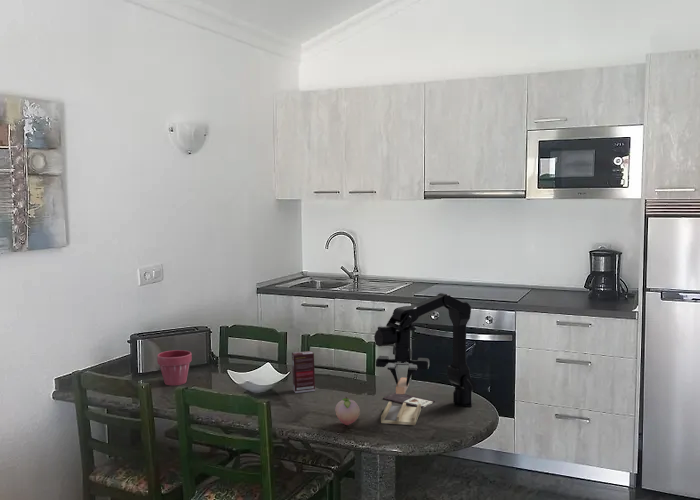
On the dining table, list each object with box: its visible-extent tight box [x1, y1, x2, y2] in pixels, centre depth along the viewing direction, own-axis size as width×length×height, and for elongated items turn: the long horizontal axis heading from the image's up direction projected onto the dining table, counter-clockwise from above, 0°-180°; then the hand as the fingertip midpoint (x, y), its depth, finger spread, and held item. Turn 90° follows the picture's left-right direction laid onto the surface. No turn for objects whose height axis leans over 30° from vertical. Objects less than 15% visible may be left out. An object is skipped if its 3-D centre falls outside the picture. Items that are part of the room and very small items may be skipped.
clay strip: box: [395, 377, 410, 394], centre depth 242 cm, size 3×12×2 cm, turn 167°
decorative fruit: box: [334, 397, 361, 426], centre depth 236 cm, size 9×8×10 cm
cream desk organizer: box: [380, 401, 422, 426], centre depth 244 cm, size 12×16×2 cm
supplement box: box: [291, 350, 316, 394], centre depth 276 cm, size 9×5×16 cm, turn 106°
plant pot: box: [156, 349, 193, 386], centre depth 290 cm, size 14×14×13 cm
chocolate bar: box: [382, 392, 436, 409], centre depth 262 cm, size 9×1×18 cm
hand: (402, 385), depth 242 cm, fingers closed on clay strip, 3 cm apart
